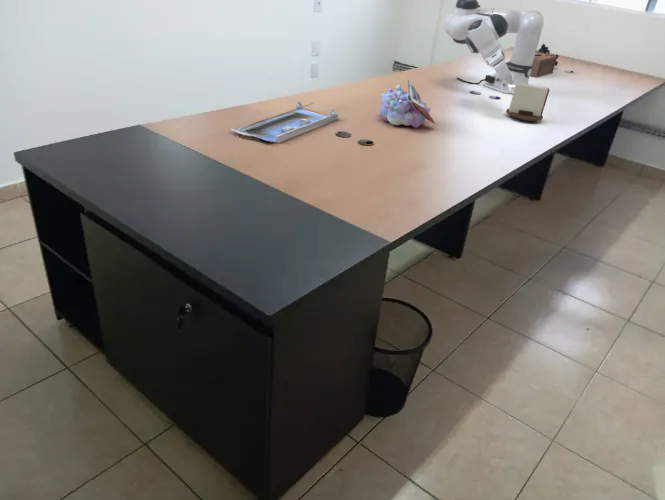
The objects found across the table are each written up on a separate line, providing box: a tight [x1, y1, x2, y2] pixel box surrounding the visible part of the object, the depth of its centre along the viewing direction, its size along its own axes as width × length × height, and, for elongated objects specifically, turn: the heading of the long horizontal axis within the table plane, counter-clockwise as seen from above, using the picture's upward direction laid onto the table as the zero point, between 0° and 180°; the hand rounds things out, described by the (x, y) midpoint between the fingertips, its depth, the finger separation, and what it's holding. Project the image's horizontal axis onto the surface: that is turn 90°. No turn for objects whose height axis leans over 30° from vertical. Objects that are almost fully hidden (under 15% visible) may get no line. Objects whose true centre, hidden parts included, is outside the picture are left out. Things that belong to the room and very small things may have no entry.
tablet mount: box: [537, 43, 559, 66], centre depth 374 cm, size 27×14×17 cm
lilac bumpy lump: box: [379, 79, 436, 129], centre depth 219 cm, size 20×22×18 cm
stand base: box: [509, 115, 538, 124], centre depth 246 cm, size 12×12×1 cm
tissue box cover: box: [530, 50, 558, 78], centre depth 336 cm, size 26×14×10 cm, turn 139°
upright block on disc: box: [505, 83, 551, 122], centre depth 243 cm, size 16×16×13 cm
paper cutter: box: [230, 101, 339, 144], centre depth 203 cm, size 18×45×6 cm, turn 148°
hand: (511, 82), depth 240 cm, fingers open, 8 cm apart
